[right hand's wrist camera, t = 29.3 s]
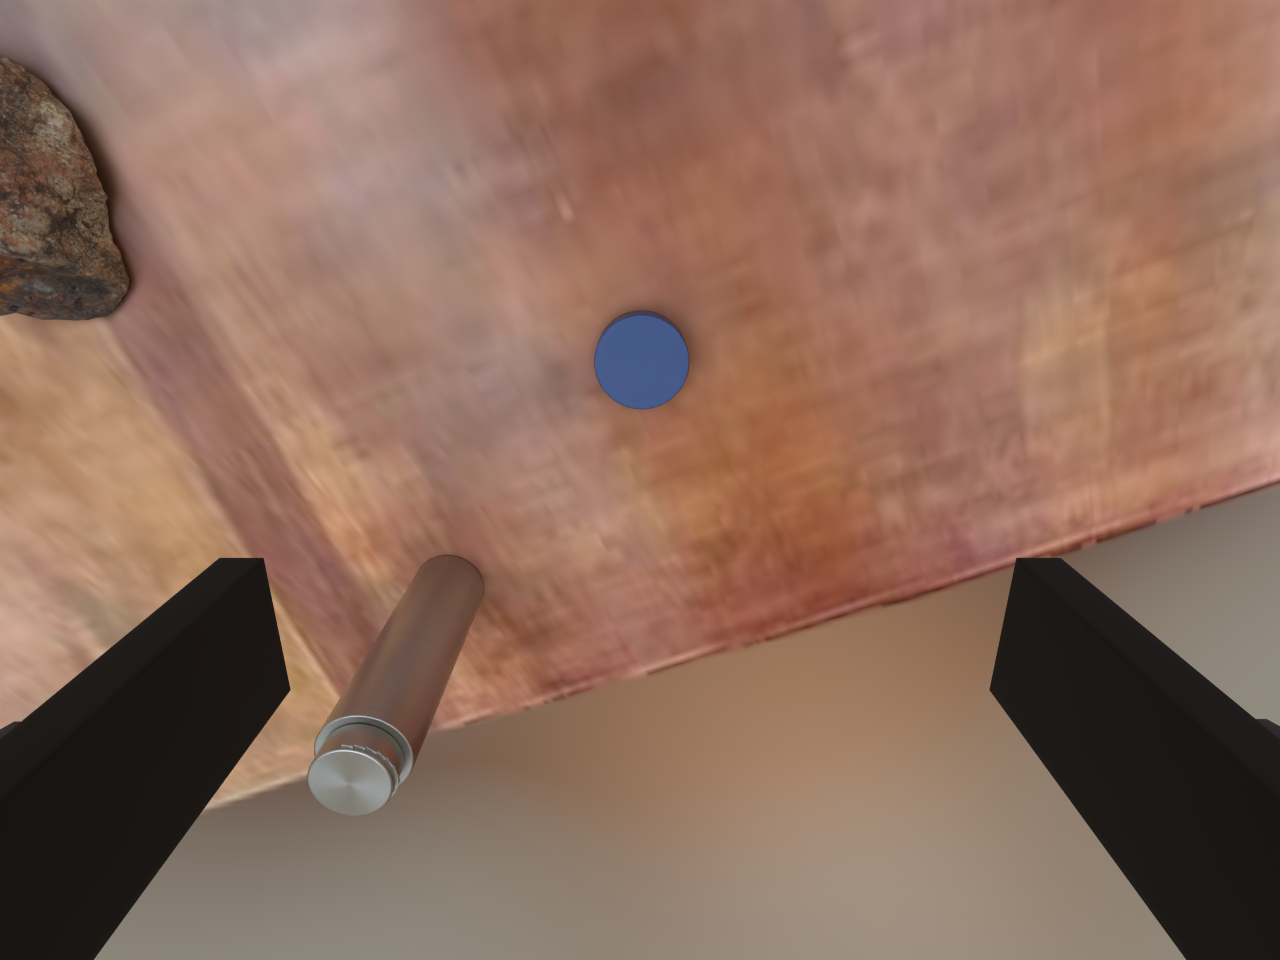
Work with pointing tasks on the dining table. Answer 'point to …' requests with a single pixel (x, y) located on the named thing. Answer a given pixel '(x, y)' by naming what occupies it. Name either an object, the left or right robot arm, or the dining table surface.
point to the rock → (51, 210)
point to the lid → (641, 360)
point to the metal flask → (395, 691)
